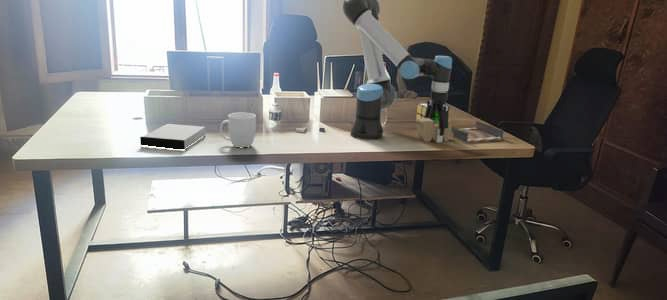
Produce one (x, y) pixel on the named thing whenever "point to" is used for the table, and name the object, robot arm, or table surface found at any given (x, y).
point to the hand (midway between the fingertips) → (433, 139)
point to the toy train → (432, 129)
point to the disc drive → (173, 136)
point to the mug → (240, 128)
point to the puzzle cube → (422, 110)
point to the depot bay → (478, 134)
